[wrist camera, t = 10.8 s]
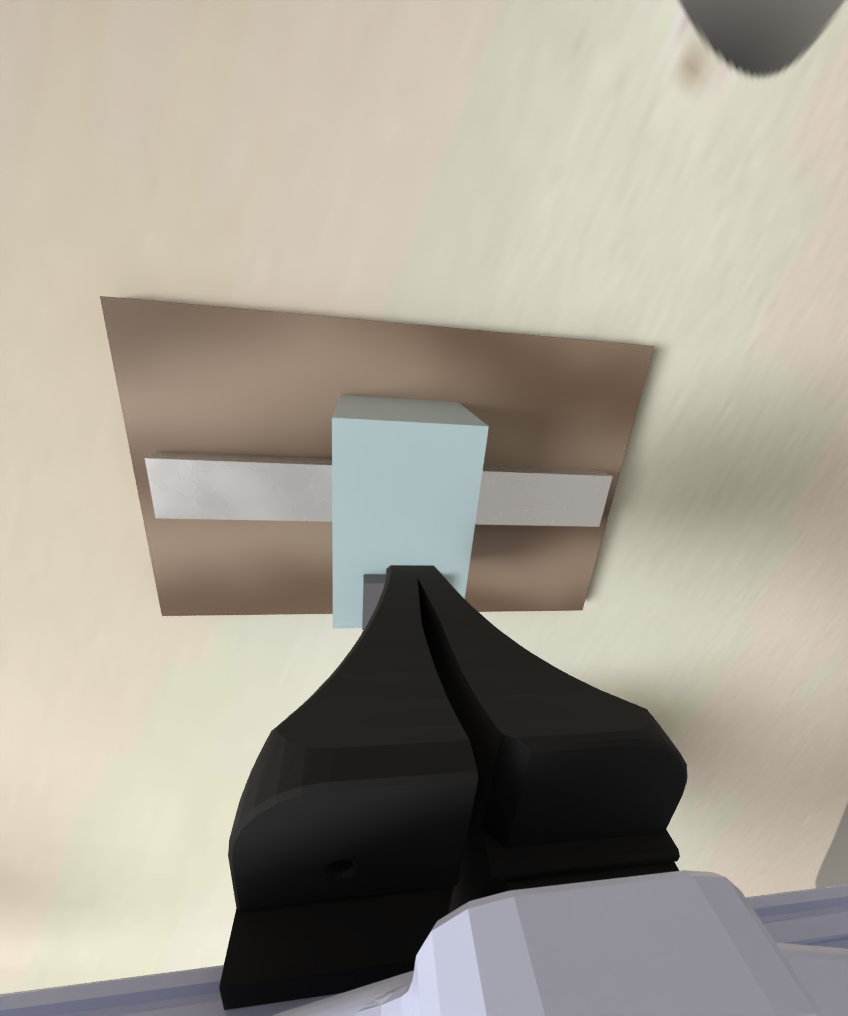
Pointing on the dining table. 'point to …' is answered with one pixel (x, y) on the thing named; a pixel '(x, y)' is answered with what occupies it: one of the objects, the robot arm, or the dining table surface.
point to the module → (401, 495)
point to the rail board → (308, 448)
